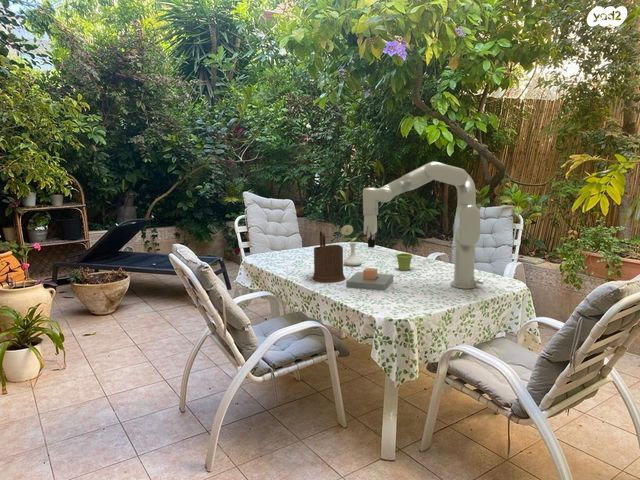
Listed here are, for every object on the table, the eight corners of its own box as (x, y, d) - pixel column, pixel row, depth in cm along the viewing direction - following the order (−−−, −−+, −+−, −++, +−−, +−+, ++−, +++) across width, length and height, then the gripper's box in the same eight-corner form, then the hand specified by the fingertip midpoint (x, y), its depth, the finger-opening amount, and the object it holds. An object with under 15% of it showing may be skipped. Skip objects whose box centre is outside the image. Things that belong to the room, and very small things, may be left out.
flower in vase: (362, 262, 280) (362, 223, 275) (362, 267, 269) (362, 226, 264) (341, 262, 281) (341, 223, 277) (340, 266, 270) (340, 226, 266)
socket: (393, 280, 239) (393, 274, 238) (384, 290, 220) (384, 284, 220) (357, 277, 246) (357, 272, 245) (346, 286, 228) (346, 281, 227)
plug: (377, 281, 235) (377, 268, 233) (374, 284, 229) (374, 271, 228) (366, 280, 237) (366, 267, 236) (363, 283, 231) (363, 270, 230)
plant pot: (411, 272, 255) (411, 257, 254) (394, 270, 258) (394, 256, 257) (413, 268, 264) (413, 253, 262) (397, 267, 267) (397, 253, 265)
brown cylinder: (316, 284, 233) (316, 237, 229) (306, 273, 256) (305, 230, 252) (350, 281, 238) (350, 235, 234) (336, 270, 261) (336, 228, 256)
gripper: (367, 210, 235) (368, 244, 238) (359, 213, 221) (360, 249, 224) (381, 210, 232) (381, 244, 235) (374, 213, 218) (374, 250, 221)
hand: (371, 247), depth 230 cm, fingers closed
